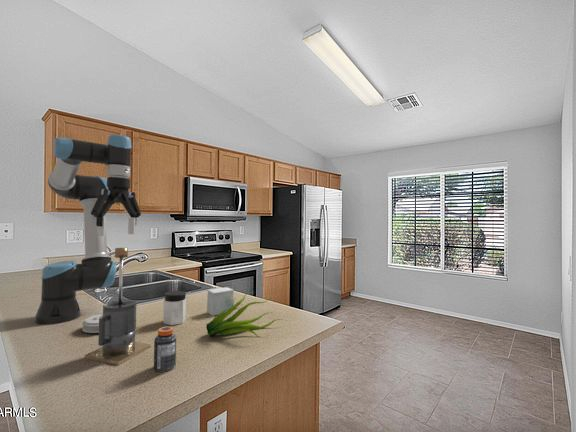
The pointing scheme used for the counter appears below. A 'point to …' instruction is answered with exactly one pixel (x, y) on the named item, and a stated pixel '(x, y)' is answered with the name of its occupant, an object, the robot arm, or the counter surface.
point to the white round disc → (91, 324)
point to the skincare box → (219, 300)
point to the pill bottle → (165, 350)
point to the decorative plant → (234, 326)
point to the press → (117, 334)
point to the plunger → (121, 268)
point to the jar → (174, 308)
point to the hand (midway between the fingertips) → (117, 235)
